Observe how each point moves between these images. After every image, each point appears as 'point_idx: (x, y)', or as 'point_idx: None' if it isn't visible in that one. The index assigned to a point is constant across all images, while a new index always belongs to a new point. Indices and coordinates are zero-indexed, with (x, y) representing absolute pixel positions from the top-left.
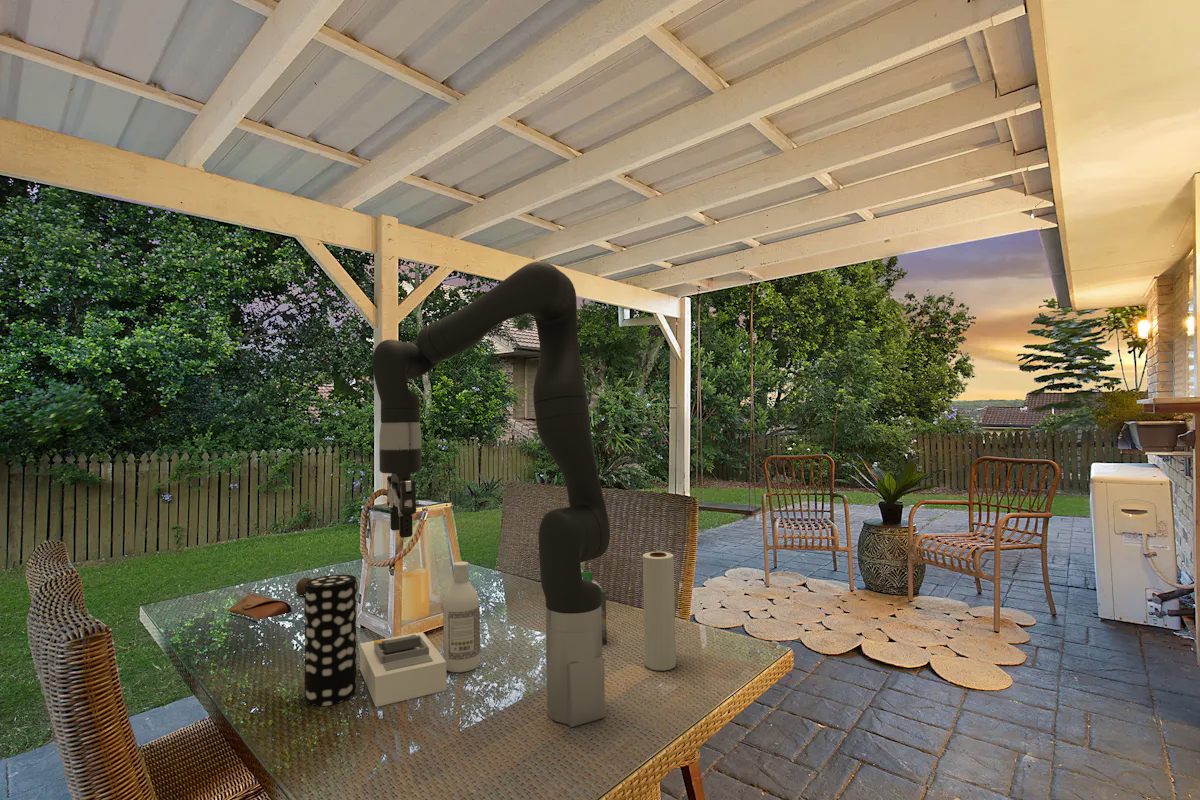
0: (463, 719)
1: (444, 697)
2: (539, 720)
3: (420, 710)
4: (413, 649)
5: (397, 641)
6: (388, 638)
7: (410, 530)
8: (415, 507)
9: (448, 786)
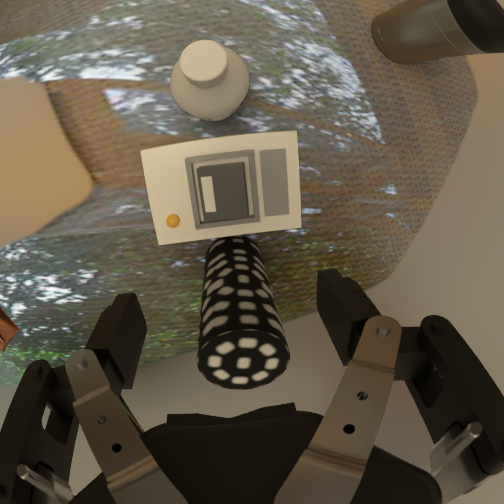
0: (366, 133)
1: (305, 137)
2: (398, 72)
3: (325, 169)
4: None
5: (245, 201)
6: (151, 204)
7: (357, 286)
8: (457, 333)
9: (442, 178)
